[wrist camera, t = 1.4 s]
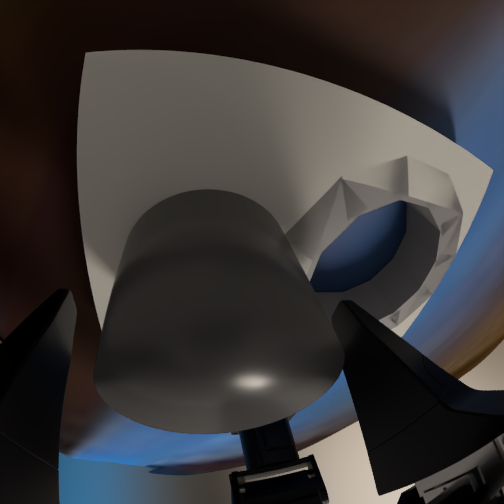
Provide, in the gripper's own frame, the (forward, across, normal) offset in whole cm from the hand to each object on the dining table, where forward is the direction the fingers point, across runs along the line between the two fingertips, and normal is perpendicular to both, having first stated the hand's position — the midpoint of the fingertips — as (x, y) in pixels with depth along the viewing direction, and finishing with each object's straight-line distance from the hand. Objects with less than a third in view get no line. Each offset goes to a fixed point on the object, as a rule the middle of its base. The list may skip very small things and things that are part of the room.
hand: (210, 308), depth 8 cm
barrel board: (+5, -4, 0) cm, 7 cm away
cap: (+2, 0, 0) cm, 2 cm away
